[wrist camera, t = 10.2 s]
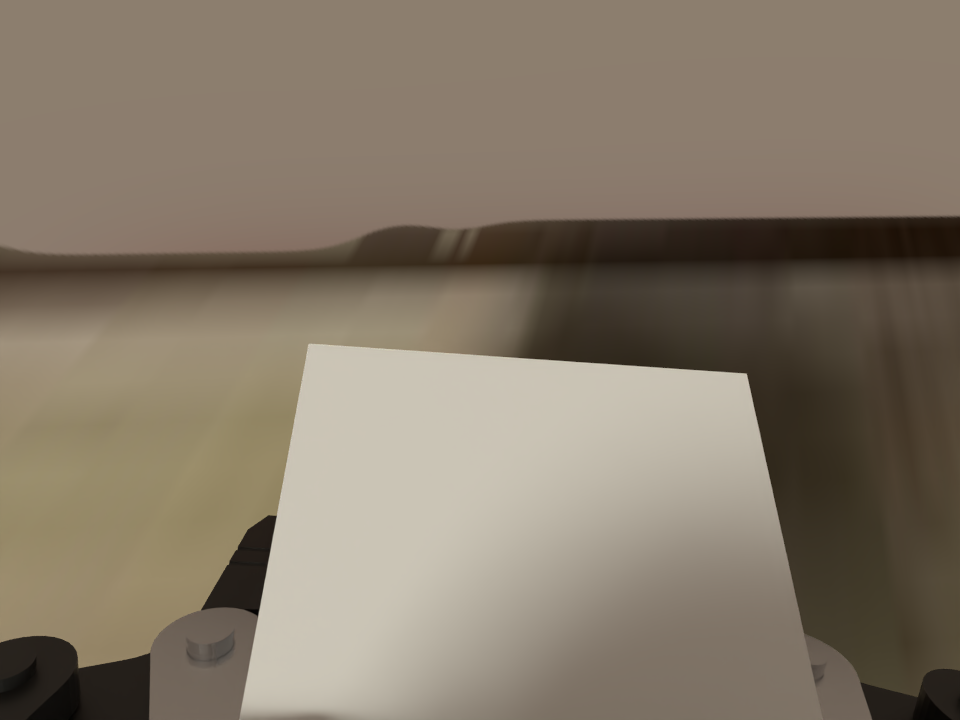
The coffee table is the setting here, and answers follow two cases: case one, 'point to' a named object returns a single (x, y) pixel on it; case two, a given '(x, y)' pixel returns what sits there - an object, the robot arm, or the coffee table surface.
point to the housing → (525, 547)
